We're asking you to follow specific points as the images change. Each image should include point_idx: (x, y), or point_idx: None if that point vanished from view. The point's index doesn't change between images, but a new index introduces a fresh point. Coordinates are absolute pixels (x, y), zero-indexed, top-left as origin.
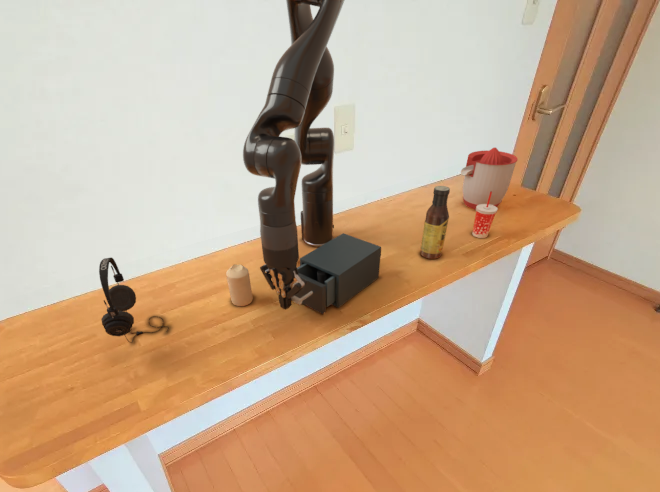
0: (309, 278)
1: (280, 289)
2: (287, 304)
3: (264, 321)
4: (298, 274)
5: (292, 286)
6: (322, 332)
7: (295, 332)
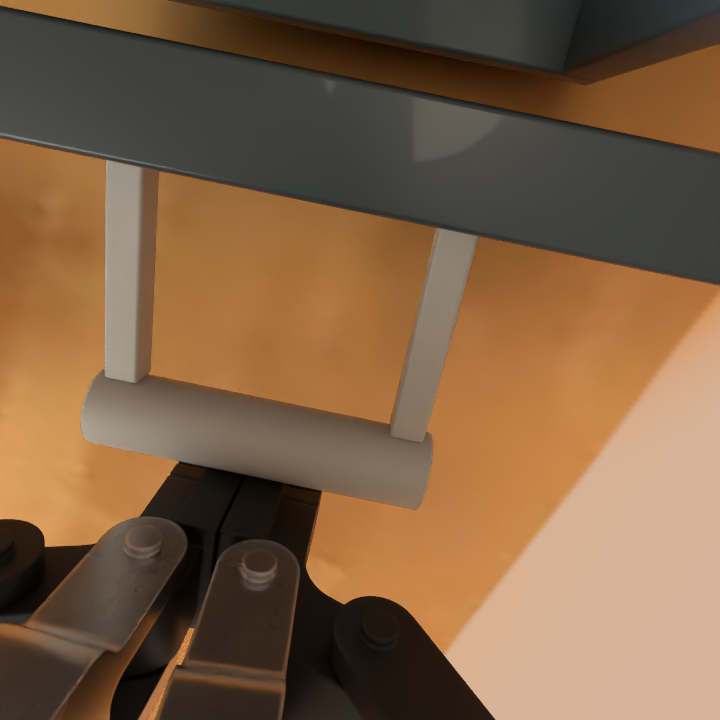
0: (350, 105)
1: (147, 703)
2: (309, 550)
3: (163, 463)
4: (22, 83)
5: (120, 243)
6: (639, 384)
7: (437, 468)
